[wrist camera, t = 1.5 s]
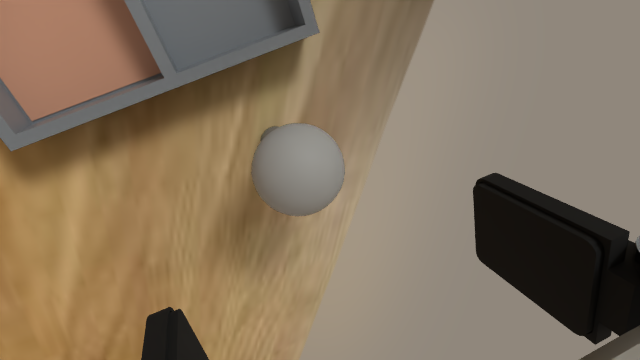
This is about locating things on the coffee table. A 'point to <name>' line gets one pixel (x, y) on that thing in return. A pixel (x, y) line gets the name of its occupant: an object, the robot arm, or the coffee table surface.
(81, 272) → the coffee table surface
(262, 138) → the lightbulb
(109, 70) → the sorting tray
